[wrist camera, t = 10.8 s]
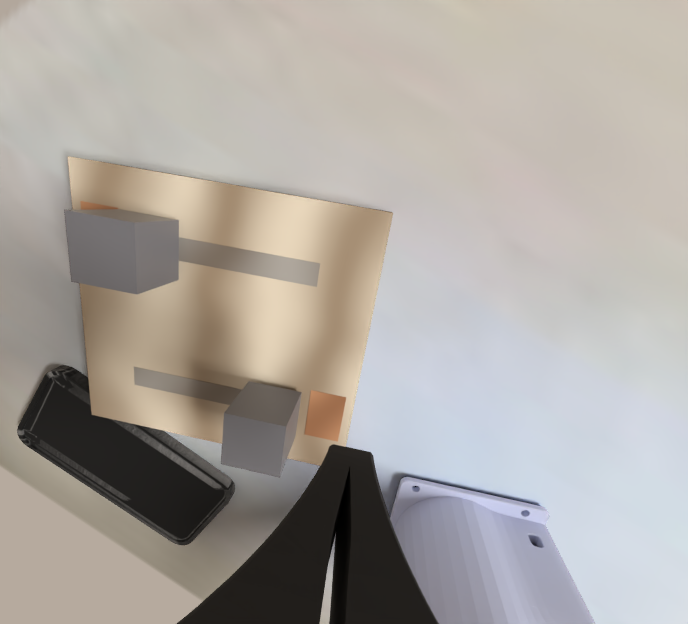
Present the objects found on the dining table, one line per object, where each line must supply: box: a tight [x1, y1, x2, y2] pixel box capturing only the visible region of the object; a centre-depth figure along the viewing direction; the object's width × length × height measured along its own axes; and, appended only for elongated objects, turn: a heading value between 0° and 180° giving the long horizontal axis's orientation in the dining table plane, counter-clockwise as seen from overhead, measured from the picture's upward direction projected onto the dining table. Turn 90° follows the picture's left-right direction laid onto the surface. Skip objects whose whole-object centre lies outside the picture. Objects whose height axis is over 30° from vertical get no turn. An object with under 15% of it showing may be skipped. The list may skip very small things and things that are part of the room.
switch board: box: [68, 156, 393, 466], centre depth 19 cm, size 16×15×2 cm
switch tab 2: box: [221, 381, 302, 477], centre depth 17 cm, size 3×3×3 cm
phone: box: [17, 366, 235, 545], centre depth 24 cm, size 8×1×15 cm
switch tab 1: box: [64, 209, 179, 294], centre depth 15 cm, size 3×3×3 cm
